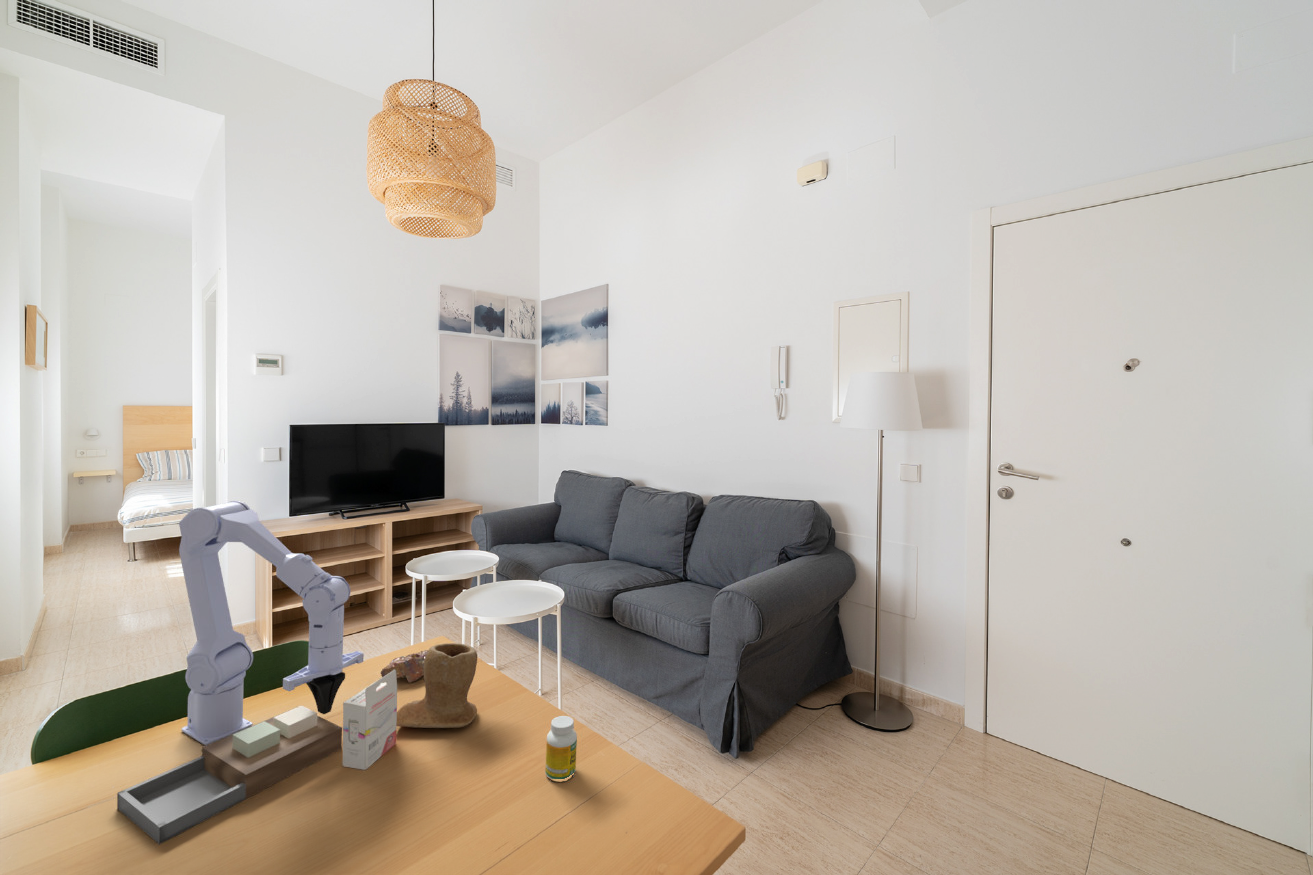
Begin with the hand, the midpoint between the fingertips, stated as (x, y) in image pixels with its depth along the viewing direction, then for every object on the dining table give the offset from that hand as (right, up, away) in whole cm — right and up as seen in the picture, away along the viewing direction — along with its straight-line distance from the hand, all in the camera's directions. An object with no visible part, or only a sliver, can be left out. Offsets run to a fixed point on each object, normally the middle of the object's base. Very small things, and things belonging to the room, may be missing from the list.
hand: (324, 711), depth 107 cm
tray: (-11, -5, -20) cm, 23 cm away
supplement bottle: (+47, -7, -8) cm, 49 cm away
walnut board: (-4, -5, -8) cm, 10 cm away
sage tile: (-6, -1, -11) cm, 12 cm away
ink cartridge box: (+12, -6, -5) cm, 14 cm away
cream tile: (-3, -1, -5) cm, 5 cm away
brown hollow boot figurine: (+19, -6, +7) cm, 21 cm away
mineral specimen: (+5, -4, +25) cm, 26 cm away
